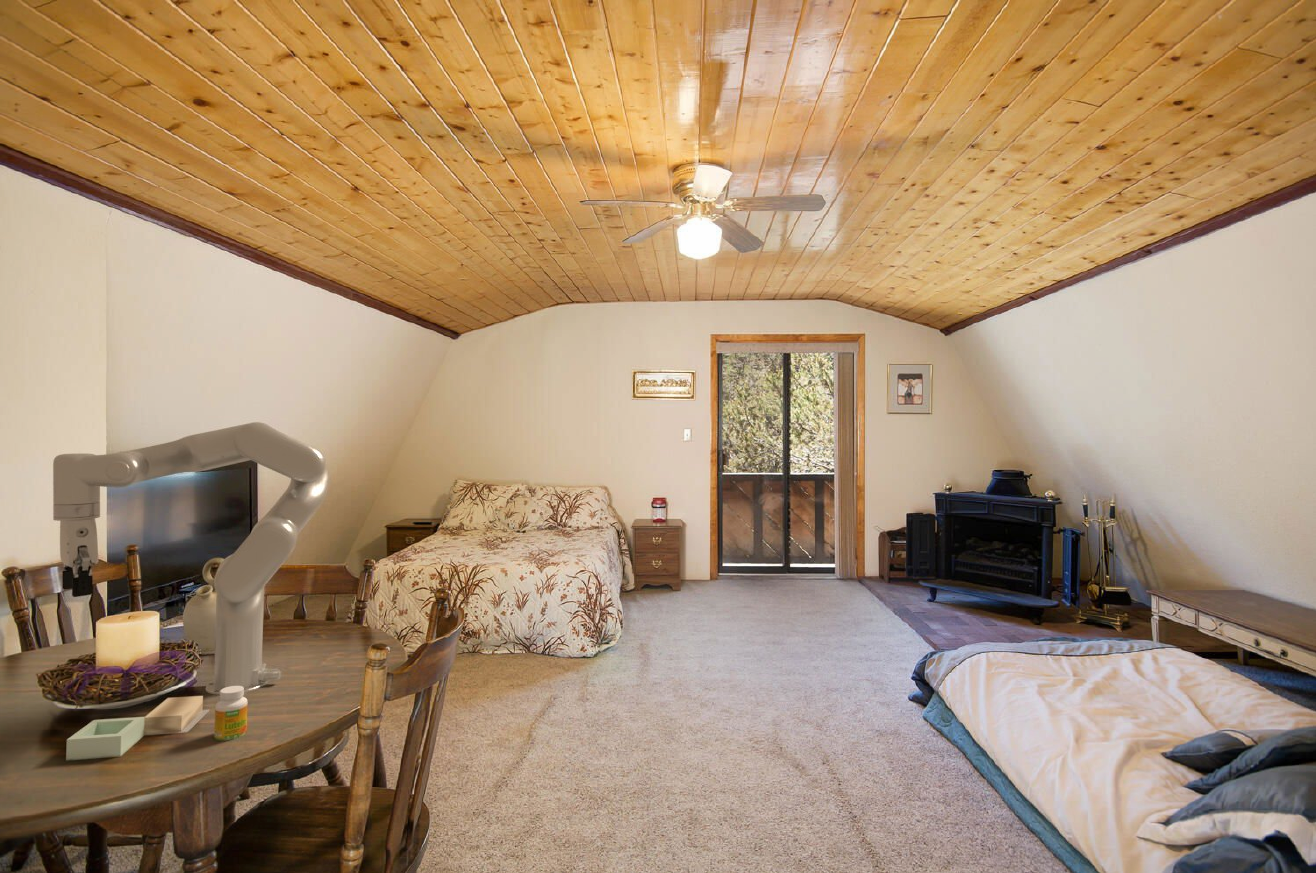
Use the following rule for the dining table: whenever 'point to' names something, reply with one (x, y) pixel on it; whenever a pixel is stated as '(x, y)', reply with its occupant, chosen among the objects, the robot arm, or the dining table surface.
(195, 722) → the mat
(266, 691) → the dining table surface
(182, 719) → the wooden block
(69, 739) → the sage green tray
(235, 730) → the supplement bottle
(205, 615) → the jug
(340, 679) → the dining table surface
